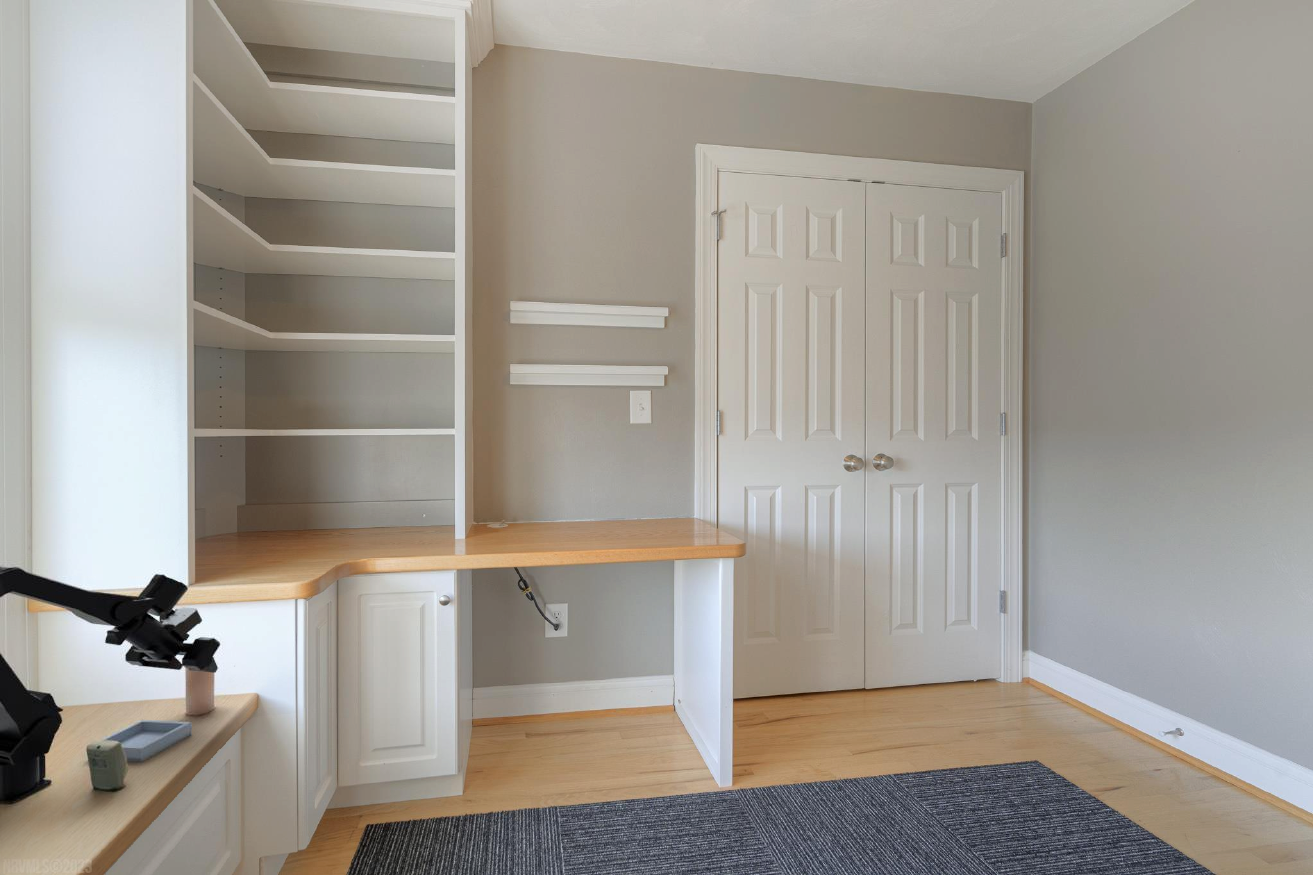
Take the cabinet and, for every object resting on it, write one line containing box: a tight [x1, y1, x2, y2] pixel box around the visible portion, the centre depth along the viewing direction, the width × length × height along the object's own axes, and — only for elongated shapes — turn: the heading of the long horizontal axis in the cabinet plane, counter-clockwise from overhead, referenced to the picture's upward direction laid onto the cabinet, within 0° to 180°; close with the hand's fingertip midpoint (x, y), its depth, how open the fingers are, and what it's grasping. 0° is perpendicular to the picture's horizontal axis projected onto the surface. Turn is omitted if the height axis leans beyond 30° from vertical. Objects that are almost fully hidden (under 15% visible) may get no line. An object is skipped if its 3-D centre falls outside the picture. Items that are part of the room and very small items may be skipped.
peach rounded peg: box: [184, 656, 216, 716], centre depth 141 cm, size 5×5×11 cm
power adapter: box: [86, 740, 129, 792], centre depth 110 cm, size 6×5×8 cm
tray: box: [98, 719, 192, 763], centre depth 125 cm, size 11×11×2 cm
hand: (198, 669), depth 141 cm, fingers open, 9 cm apart
